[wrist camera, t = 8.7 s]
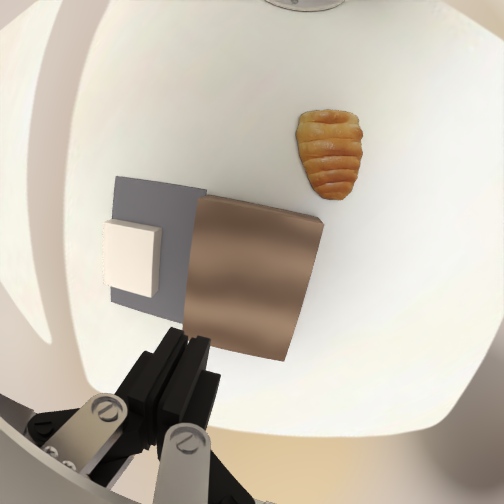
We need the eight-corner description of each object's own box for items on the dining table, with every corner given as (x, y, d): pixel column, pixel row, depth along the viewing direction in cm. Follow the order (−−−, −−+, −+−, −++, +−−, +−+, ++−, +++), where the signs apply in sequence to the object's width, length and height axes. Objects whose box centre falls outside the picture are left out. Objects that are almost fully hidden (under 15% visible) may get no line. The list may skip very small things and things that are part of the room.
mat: (117, 176, 30) (115, 176, 29) (206, 189, 29) (205, 190, 29) (112, 300, 35) (111, 301, 34) (189, 324, 34) (188, 325, 34)
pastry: (361, 198, 28) (371, 201, 24) (300, 199, 29) (302, 203, 25) (355, 113, 25) (364, 106, 22) (293, 113, 26) (295, 105, 23)
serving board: (208, 194, 29) (198, 198, 25) (318, 217, 29) (324, 224, 25) (191, 321, 34) (181, 338, 30) (284, 342, 33) (284, 361, 30)
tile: (154, 231, 28) (162, 227, 30) (103, 222, 29) (113, 218, 31) (151, 297, 31) (158, 290, 33) (103, 284, 31) (112, 277, 33)
